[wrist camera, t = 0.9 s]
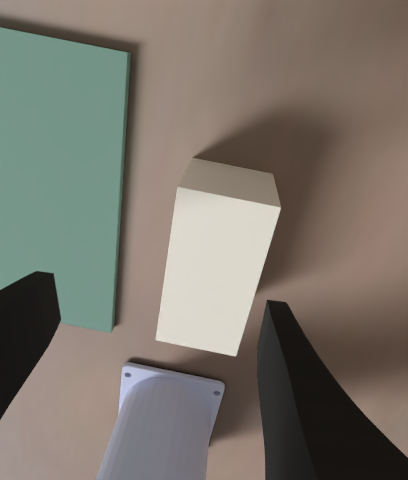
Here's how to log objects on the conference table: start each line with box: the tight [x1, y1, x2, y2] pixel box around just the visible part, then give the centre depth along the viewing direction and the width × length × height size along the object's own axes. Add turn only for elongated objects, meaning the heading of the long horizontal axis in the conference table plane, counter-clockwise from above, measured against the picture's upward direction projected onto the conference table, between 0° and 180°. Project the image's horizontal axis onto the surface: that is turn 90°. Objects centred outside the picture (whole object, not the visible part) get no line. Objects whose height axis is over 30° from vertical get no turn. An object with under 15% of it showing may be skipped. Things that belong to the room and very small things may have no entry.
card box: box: [156, 158, 281, 356], centre depth 19 cm, size 9×4×5 cm, turn 170°
